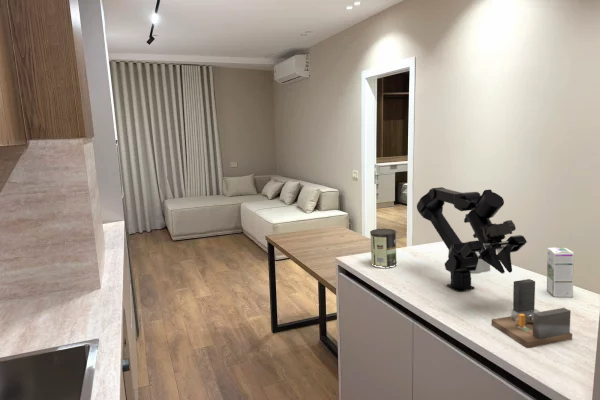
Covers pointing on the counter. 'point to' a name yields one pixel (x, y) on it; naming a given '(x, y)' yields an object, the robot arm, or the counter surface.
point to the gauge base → (523, 335)
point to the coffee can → (383, 247)
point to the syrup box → (560, 272)
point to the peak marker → (521, 320)
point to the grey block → (481, 266)
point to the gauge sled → (524, 300)
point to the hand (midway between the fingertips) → (507, 272)
